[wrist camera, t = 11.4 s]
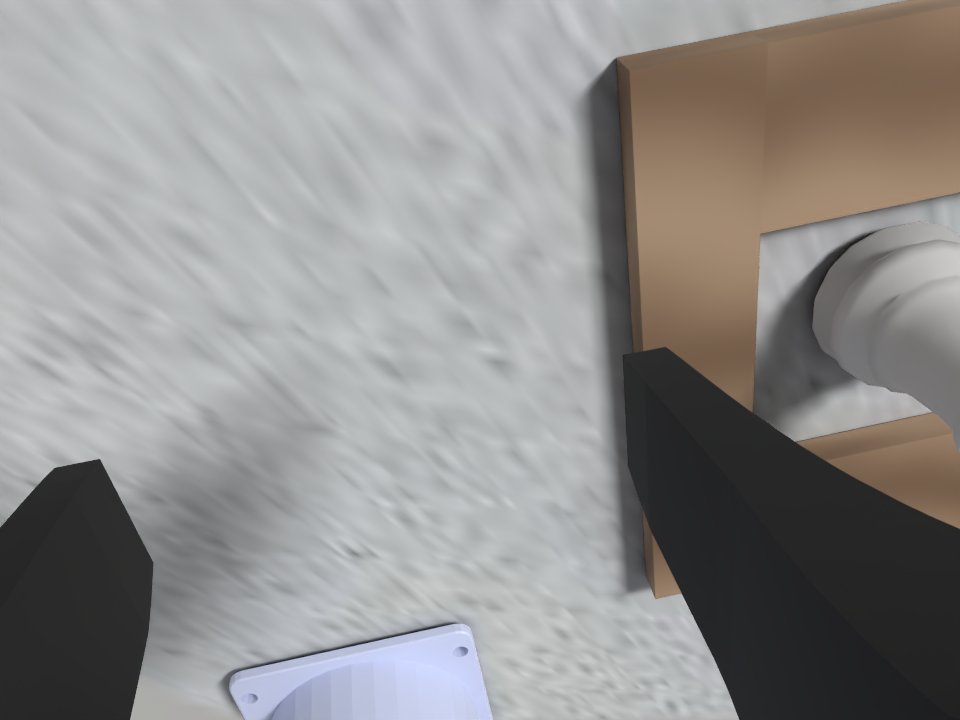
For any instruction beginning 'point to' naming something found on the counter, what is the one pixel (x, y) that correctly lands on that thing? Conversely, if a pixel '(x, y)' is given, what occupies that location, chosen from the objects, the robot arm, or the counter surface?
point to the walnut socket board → (785, 197)
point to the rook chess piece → (898, 315)
